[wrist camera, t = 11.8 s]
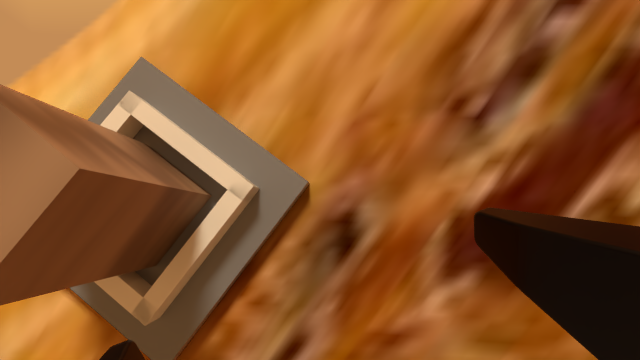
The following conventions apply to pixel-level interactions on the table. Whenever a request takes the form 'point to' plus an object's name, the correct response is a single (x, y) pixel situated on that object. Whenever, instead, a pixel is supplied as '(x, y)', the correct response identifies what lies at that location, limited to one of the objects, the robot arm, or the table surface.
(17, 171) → the block
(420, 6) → the table surface
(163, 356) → the socket plate
